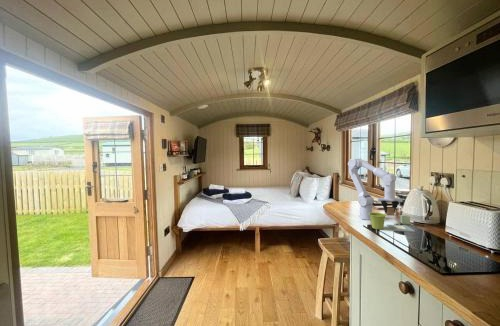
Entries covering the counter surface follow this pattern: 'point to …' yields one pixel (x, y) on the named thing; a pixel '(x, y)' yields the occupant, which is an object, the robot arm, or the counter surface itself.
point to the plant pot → (377, 220)
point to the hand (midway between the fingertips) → (389, 212)
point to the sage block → (405, 219)
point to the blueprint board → (400, 228)
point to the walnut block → (390, 211)
